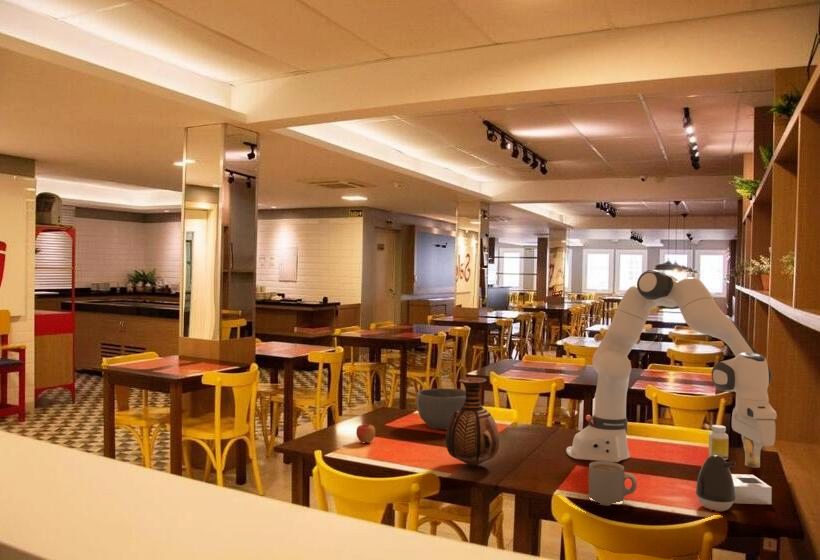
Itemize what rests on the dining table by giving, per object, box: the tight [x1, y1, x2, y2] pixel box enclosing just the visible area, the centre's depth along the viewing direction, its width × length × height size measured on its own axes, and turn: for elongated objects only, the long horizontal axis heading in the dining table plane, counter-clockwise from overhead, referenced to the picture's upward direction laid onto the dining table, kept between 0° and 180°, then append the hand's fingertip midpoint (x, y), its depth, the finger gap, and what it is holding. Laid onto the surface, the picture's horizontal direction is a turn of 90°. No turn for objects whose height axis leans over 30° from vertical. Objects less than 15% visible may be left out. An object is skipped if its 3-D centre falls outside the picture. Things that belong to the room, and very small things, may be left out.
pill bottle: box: [708, 424, 730, 461], centre depth 241 cm, size 6×6×12 cm
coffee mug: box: [588, 461, 638, 507], centre depth 195 cm, size 13×10×10 cm
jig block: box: [731, 473, 773, 505], centre depth 199 cm, size 14×12×5 cm
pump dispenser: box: [695, 455, 737, 512], centre depth 189 cm, size 10×10×15 cm
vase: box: [445, 377, 500, 468], centre depth 227 cm, size 21×18×30 cm
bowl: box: [415, 387, 466, 430], centre depth 283 cm, size 24×24×15 cm
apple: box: [356, 422, 376, 443], centre depth 256 cm, size 7×7×8 cm
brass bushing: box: [744, 438, 761, 468], centre depth 199 cm, size 4×4×8 cm
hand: (751, 453), depth 199 cm, fingers closed on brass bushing, 4 cm apart
